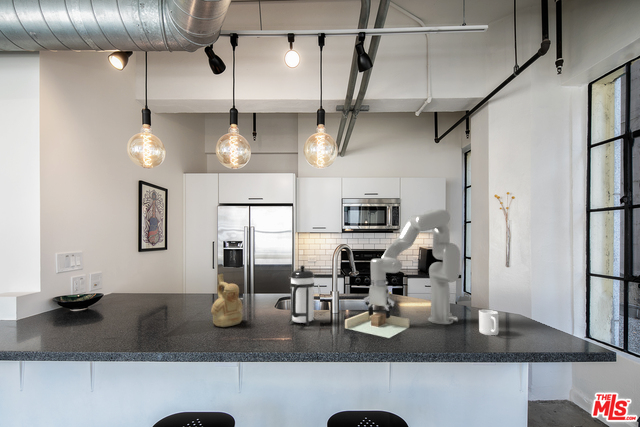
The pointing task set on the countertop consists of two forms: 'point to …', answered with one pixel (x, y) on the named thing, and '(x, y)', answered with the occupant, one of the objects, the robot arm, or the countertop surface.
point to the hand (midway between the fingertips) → (379, 316)
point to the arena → (386, 330)
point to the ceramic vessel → (227, 305)
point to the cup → (488, 322)
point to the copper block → (378, 319)
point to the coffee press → (302, 296)
